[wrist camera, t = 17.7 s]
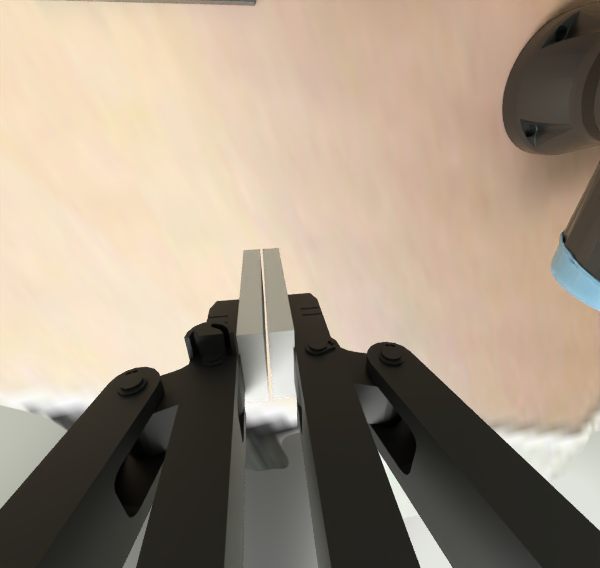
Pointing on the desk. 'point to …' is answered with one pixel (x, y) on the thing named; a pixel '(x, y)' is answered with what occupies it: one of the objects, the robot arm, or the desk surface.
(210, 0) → the housing plate
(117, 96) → the desk surface
